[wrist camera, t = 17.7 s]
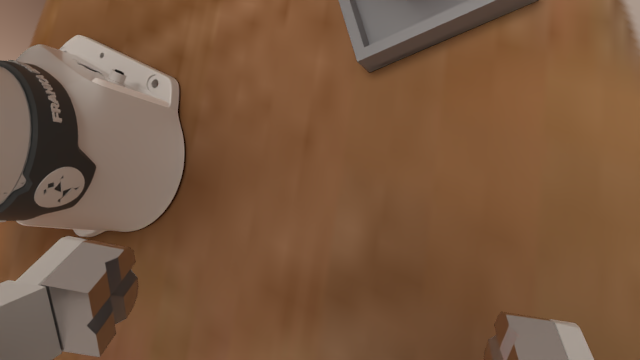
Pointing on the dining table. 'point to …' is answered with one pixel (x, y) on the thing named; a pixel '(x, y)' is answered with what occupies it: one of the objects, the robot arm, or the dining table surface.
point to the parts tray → (413, 24)
